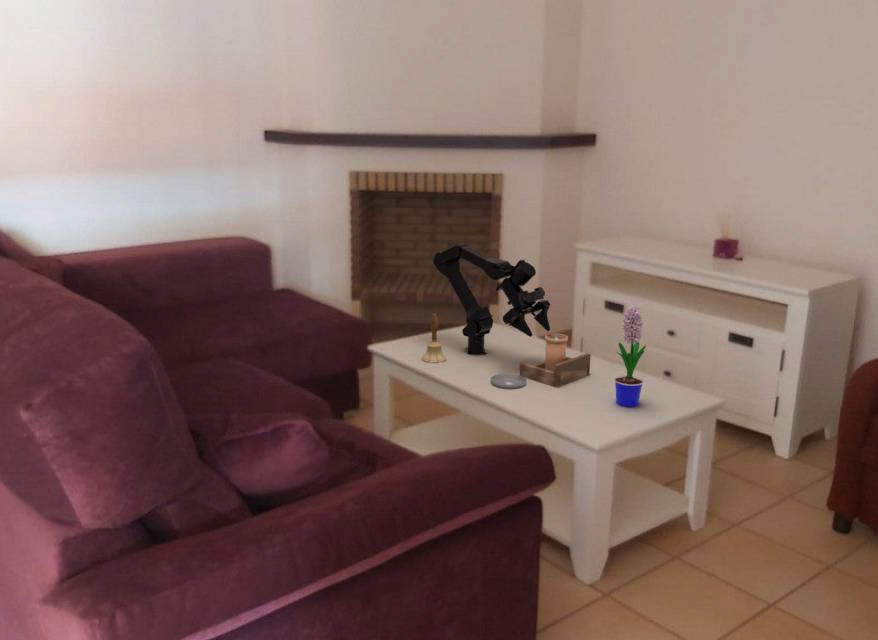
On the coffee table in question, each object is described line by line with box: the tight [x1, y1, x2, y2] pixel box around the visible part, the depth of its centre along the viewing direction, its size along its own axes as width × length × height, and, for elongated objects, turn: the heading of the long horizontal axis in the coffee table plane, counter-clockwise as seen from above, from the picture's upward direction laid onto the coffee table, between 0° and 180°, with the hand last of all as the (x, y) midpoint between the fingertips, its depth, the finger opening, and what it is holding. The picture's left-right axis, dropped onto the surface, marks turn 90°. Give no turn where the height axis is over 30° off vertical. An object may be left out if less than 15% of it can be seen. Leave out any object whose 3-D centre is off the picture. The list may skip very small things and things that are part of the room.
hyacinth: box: [614, 305, 647, 408], centre depth 247 cm, size 9×10×30 cm
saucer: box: [490, 373, 527, 390], centre depth 266 cm, size 11×11×1 cm
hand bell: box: [421, 313, 447, 364], centre depth 286 cm, size 8×8×16 cm
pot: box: [544, 332, 569, 372], centre depth 272 cm, size 7×7×13 cm
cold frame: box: [519, 352, 591, 388], centre depth 273 cm, size 15×17×7 cm
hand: (540, 333), depth 275 cm, fingers open, 9 cm apart
